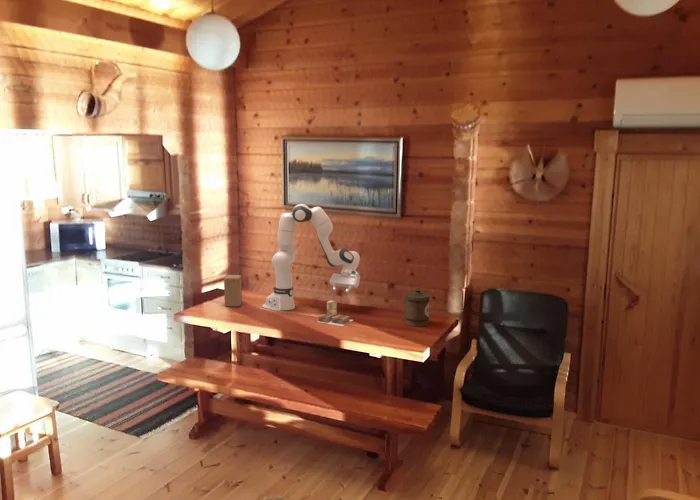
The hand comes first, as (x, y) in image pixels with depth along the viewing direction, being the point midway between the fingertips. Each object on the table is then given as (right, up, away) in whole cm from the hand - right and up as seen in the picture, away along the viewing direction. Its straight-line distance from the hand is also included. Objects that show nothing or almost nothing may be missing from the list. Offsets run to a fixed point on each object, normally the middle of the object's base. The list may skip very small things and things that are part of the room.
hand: (340, 291), depth 385 cm
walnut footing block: (-9, -17, -20) cm, 27 cm away
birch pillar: (-5, -16, -7) cm, 18 cm away
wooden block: (-73, -11, +19) cm, 76 cm away
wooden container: (+47, -18, -19) cm, 54 cm away
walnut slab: (+1, -17, -22) cm, 28 cm away
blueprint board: (-3, -18, -20) cm, 27 cm away
